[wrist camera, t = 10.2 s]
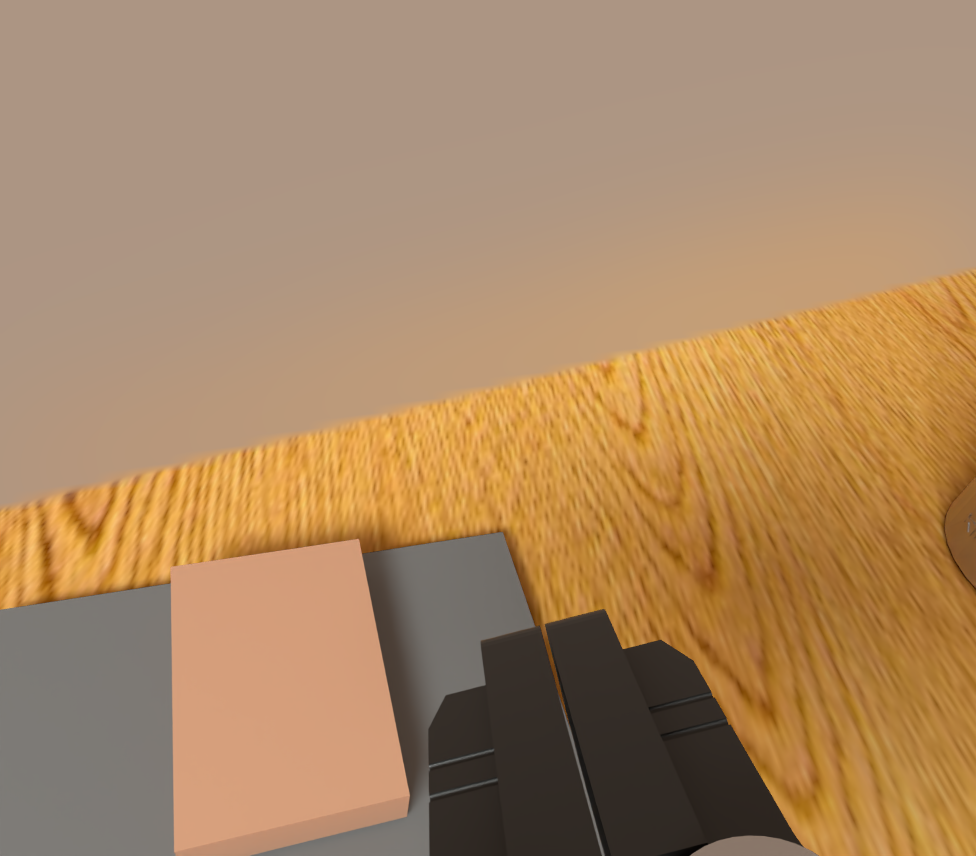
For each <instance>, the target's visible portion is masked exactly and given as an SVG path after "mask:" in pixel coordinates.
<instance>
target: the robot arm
mask: <svg viewBox="0 0 976 856" xmlns="http://www.w3.org/2000/svg"><path fill="white" fill-rule="evenodd" d="M945 533H946V538H947V543H948V546H949V548H950V550H951V553H952V555H953V557H954V560H955V561H956V563H957V564H958V566H959V567H960V569H961V570H962V572H963V574H964V575H965V577H966V578H967V579H968V580H969V581H970V582H971V583H972V585H973V586H974V587H975V588H976V477H975V478H974V479H973V480H972V481H971V482H970V483H969V485H968V486H967V487H966V488H965V489H964V490H963V491H962V493H961V494H960V495H959V496H958V497H957V498H956V500H955V501H954V502H953V503H952V504H951V506H950V508H949V510H948V512H947V514H946V521H945ZM545 627H546V631H547V635H548V640H549V644H550V648H551V652H552V656H553V660H554V664H555V668H556V672H557V676H558V680H559V684H560V688H561V692H562V696H563V700H564V704H565V708H566V712H567V716H568V720H569V724H570V728H571V732H572V736H573V740H574V744H575V748H576V752H577V756H578V760H579V763H580V767H581V771H582V775H583V779H584V782H585V786H586V790H587V793H588V797H589V801H590V804H591V808H592V812H593V815H594V819H595V822H596V826H597V830H598V833H599V837H600V841H601V844H602V848H603V852H604V855H605V856H818V855H817V854H815V853H814V852H812V851H811V850H808V849H806V848H804V847H803V846H802V845H801V843H800V842H799V840H798V839H797V837H796V836H795V835H794V833H793V832H792V830H791V828H790V827H789V825H788V823H787V821H786V820H785V818H784V816H783V814H782V813H781V811H780V809H779V808H778V806H777V804H776V802H775V801H774V799H773V797H772V795H771V794H770V792H769V790H768V789H767V787H766V785H765V783H764V782H763V780H762V778H761V777H760V775H759V773H758V771H757V770H756V768H755V766H754V764H753V763H752V761H751V759H750V758H749V756H748V754H747V752H746V751H745V749H744V747H743V745H742V744H741V742H740V740H739V739H738V737H737V735H736V733H735V732H734V730H733V728H732V727H731V725H729V724H728V722H727V718H726V716H725V714H724V713H723V711H722V709H721V708H720V706H719V704H718V702H717V701H716V699H715V698H713V696H712V693H711V690H710V689H709V687H708V685H707V683H706V682H705V680H704V678H703V677H702V675H701V673H700V671H699V670H698V668H697V666H696V664H695V663H694V661H693V660H691V659H690V658H688V657H687V656H685V655H684V654H682V653H681V652H679V651H677V650H676V649H674V648H673V647H671V646H670V645H668V644H667V643H665V642H663V641H662V640H658V641H654V642H650V643H647V644H643V645H639V646H635V647H631V648H627V649H622V647H621V645H620V642H619V640H618V638H617V635H616V633H615V631H614V629H613V626H612V624H611V622H610V619H609V617H608V615H607V613H606V611H605V610H604V609H602V610H598V611H594V612H590V613H586V614H582V615H578V616H574V617H570V618H566V619H563V620H559V621H555V622H551V623H547V624H545ZM480 644H481V652H482V660H483V668H484V676H485V684H486V685H484V686H480V687H476V688H472V689H468V690H464V691H460V692H456V693H452V694H448V695H446V696H445V698H444V699H443V701H442V703H441V705H440V707H439V709H438V711H437V713H436V715H435V717H434V719H433V721H432V723H431V725H430V727H429V728H428V763H429V769H430V771H429V797H430V802H429V856H602V854H601V850H600V846H599V843H598V839H597V835H596V832H595V828H594V824H593V821H592V817H591V813H590V810H589V806H588V802H587V798H586V795H585V791H584V787H583V784H582V780H581V776H580V773H579V769H578V765H577V762H576V758H575V754H574V750H573V747H572V743H571V739H570V736H569V732H568V728H567V725H566V721H565V717H564V713H563V710H562V706H561V702H560V699H559V695H558V691H557V688H556V684H555V680H554V677H553V673H552V669H551V665H550V662H549V658H548V654H547V651H546V647H545V643H544V640H543V636H542V632H541V629H540V626H536V627H532V628H528V629H524V630H520V631H517V632H513V633H509V634H505V635H501V636H497V637H493V638H489V639H485V640H481V642H480Z"/></svg>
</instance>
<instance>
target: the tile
mask: <svg viewBox="0 0 976 856" xmlns="http://www.w3.org/2000/svg"><path fill="white" fill-rule="evenodd" d="M171 636H172V717H173V798H174V853H175V855H176V856H250V855H254V854H258V853H262V852H266V851H270V850H274V849H278V848H282V847H286V846H291V845H295V844H299V843H303V842H307V841H311V840H315V839H319V838H323V837H327V836H331V835H335V834H339V833H343V832H347V831H351V830H355V829H359V828H363V827H368V826H372V825H376V824H380V823H384V822H388V821H392V820H396V819H400V818H404V817H407V812H408V805H409V798H410V794H409V789H408V784H407V778H406V773H405V768H404V763H403V758H402V753H401V748H400V743H399V738H398V733H397V728H396V723H395V718H394V713H393V708H392V703H391V698H390V693H389V688H388V683H387V678H386V673H385V668H384V663H383V658H382V653H381V648H380V643H379V638H378V633H377V628H376V623H375V618H374V613H373V608H372V602H371V597H370V592H369V587H368V582H367V577H366V572H365V567H364V562H363V557H362V552H361V547H360V542H359V539H355V540H348V541H341V542H335V543H328V544H321V545H315V546H308V547H301V548H295V549H288V550H281V551H275V552H268V553H261V554H255V555H248V556H241V557H235V558H228V559H221V560H215V561H208V562H202V563H195V564H188V565H182V566H175V567H171Z"/></svg>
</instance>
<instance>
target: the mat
mask: <svg viewBox="0 0 976 856" xmlns="http://www.w3.org/2000/svg"><path fill="white" fill-rule="evenodd" d="M362 557H363V562H364V567H365V572H366V577H367V582H368V587H369V592H370V597H371V602H372V608H373V613H374V618H375V623H376V628H377V633H378V638H379V643H380V648H381V653H382V658H383V663H384V668H385V673H386V678H387V683H388V688H389V693H390V698H391V703H392V708H393V713H394V718H395V723H396V728H397V733H398V738H399V743H400V748H401V753H402V758H403V763H404V768H405V773H406V778H407V784H408V789H409V794H410V798H409V805H408V812H407V817H404V818H400V819H396V820H392V821H388V822H384V823H380V824H376V825H372V826H368V827H363V828H359V829H355V830H351V831H347V832H343V833H339V834H335V835H331V836H327V837H323V838H319V839H315V840H311V841H307V842H303V843H299V844H295V845H291V846H286V847H282V848H278V849H274V850H270V851H266V852H262V853H258V854H254V855H250V856H429V802H430V797H429V771H430V769H429V763H428V728H429V727H430V725H431V723H432V721H433V719H434V717H435V715H436V713H437V711H438V709H439V707H440V705H441V703H442V701H443V699H444V698H445V696H446V695H448V694H452V693H456V692H460V691H464V690H468V689H472V688H476V687H480V686H484V685H486V684H485V676H484V668H483V660H482V652H481V644H480V642H481V640H485V639H489V638H493V637H497V636H501V635H505V634H509V633H513V632H517V631H520V630H524V629H528V628H532V627H535V625H534V622H533V619H532V616H531V613H530V610H529V607H528V604H527V601H526V598H525V596H524V593H523V590H522V587H521V584H520V581H519V578H518V575H517V572H516V569H515V566H514V564H513V561H512V558H511V555H510V552H509V549H508V546H507V543H506V540H505V537H504V534H503V532H499V533H493V534H486V535H480V536H473V537H467V538H460V539H454V540H447V541H441V542H435V543H428V544H422V545H415V546H409V547H402V548H396V549H390V550H383V551H377V552H370V553H364V554H362ZM559 699H560V697H559ZM560 702H561V700H560ZM561 706H562V703H561ZM562 710H563V713H564V717H565V721H566V725H567V728H568V732H569V736H570V739H571V743H572V747H573V750H574V754H575V758H576V762H577V765H578V769H579V773H580V776H581V780H582V784H583V787H584V791H585V795H586V798H587V802H588V806H589V810H590V813H591V817H592V821H593V824H594V828H595V832H596V835H597V839H598V843H599V846H600V850H601V854H602V856H605V855H604V852H603V848H602V844H601V841H600V837H599V833H598V830H597V826H596V822H595V819H594V815H593V812H592V808H591V804H590V801H589V797H588V793H587V790H586V786H585V782H584V779H583V775H582V771H581V767H580V763H579V760H578V756H577V752H576V748H575V744H574V740H573V736H572V732H571V729H570V727H569V724H568V721H567V718H566V715H565V712H564V709H563V706H562ZM0 856H176V855H175V853H174V798H173V717H172V636H171V584H164V585H158V586H151V587H145V588H138V589H132V590H126V591H119V592H113V593H106V594H100V595H93V596H87V597H80V598H74V599H68V600H61V601H55V602H48V603H42V604H35V605H29V606H22V607H16V608H10V609H3V610H0Z"/></svg>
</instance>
